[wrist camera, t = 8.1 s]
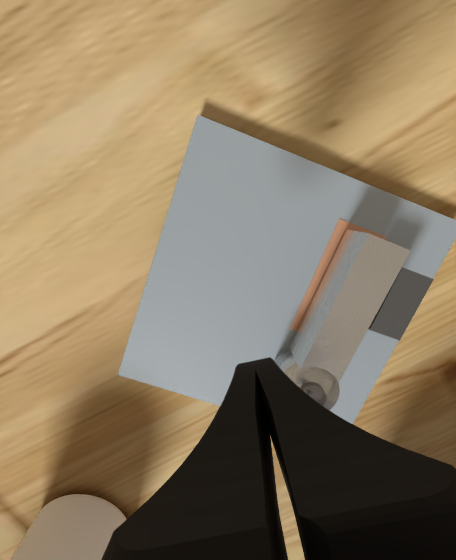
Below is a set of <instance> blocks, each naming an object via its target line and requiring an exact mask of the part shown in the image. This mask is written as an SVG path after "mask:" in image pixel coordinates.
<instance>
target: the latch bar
mask: <svg viewBox="0 0 456 560" xmlns="http://www.w3.org/2000/svg"><path fill="white" fill-rule="evenodd" d="M410 252H411V251H410V250H408V249H406V248H403V247H401V246H398V245H396V244H394V243H391V242H389V241H386V240H384V239H382V238H379V237H377V236H374V235H372V234H370V233H365V232H359V231H353V230H346V232H345V234H344V236H343V238H342V240H341V242H340V244H339V246H338V248H337V251H336V253H335V255H334V257H333V259H332V261H331V263H330V265H329V267H328V269H327V271H326V273H325V275H324V277H323V279H322V281H321V284H320V286H319V288H318V290H317V292H316V294H315V296H314V298H313V300H312V302H311V304H310V306H309V308H308V310H307V312H306V315H305V317H304V319H303V321H302V323H301V325H300V327H299V329H298V331H297V333H296V335H295V337H294V339H293V341H292V343H291V345H290V348H288V349H286V350H284V351H283V352H282V353H281V354H280V355H279V356H278V357H277V359H276V361H275V363H276V364H277V365H278V366H279V368H280V369H281V370H282V371H283V372H284V373H285V374H286V375H287V376H288V377H289V378H290V379H291V380H292V381H293V382H294V383H295V384H296V385H297V386H299V387H300V388H301V389H302V390H303V391H304V392H305V393H307V394H308V395H309V396H310V397H312V398H313V399H314V400H316V401H317V402H318V403H320V404H321V405H322V406H324V407H325V408H327V409H328V410H331V409H332V408H333V406H334V405H335V404H336V402H337V400H338V397H339V393H340V388H339V384H338V383H339V381H340V379H341V378H342V376H343V374H344V372H345V370H346V368H347V367H348V365H349V363H350V361H351V359H352V357H353V356H354V354H355V352H356V350H357V348H358V347H359V345H360V343H361V341H362V339H363V337H364V336H365V334H366V332H367V330H368V328H369V326H370V325H371V323H372V321H373V319H374V317H375V315H376V314H377V312H378V310H379V308H380V306H381V305H382V303H383V301H384V299H385V297H386V295H387V294H388V292H389V290H390V288H391V286H392V284H393V283H394V281H395V279H396V277H397V275H398V273H399V272H400V270H401V268H402V266H403V264H404V262H405V261H406V259H407V257H408V255H409V253H410Z"/></svg>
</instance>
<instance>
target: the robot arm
mask: <svg viewBox="0 0 456 560" xmlns="http://www.w3.org/2000/svg"><path fill="white" fill-rule="evenodd" d="M270 435H271V439H272V442H273V445H274V448H275V451H276V454H277V458H278V461H279V464H280V467H281V470H282V473H283V477H284V480H285V483H286V486H287V489H288V492H289V496H290V499H291V503H292V506H293V510H294V514H295V518H296V522H297V526H298V531H299V535H300V539H301V544H302V548H303V552H304V557H305V560H456V469H455V468H454V467H453V466H452V465H449V464H446V463H444V462H441V461H438V460H435V459H432V458H430V457H427V456H424V455H421V454H418V453H415V452H413V451H410V450H407V449H405V448H402V447H400V446H397V445H395V444H393V443H390V442H388V441H386V440H383V439H381V438H379V437H377V436H375V435H372V434H370V433H368V432H366V431H364V430H362V429H361V428H359V427H357V426H355V425H353V424H351V423H349V422H347V421H345V420H344V419H342V418H341V417H339V416H337V415H336V414H334V413H333V412H331V411H330V410H328V409H327V408H325V407H324V406H322V405H321V404H320V403H318V402H317V401H316V400H314V399H313V398H312V397H310V396H309V395H308V394H307V393H305V392H304V391H303V390H302V389H301V388H300V387H299V386H297V385H296V384H295V383H294V382H293V381H292V380H291V379H290V378H289V377H288V376H287V375H286V374H285V373H284V372H283V371H282V370H281V369H280V368H279V366H278V365H277V364H276V363H275V361H274V360H273V359H272V358H270V357H269V358H264V359H259V360H255V361H250V362H245V363H240V364H238V365H237V366H236V367H235V371H234V375H233V378H232V380H231V383H230V386H229V388H228V390H227V393H226V395H225V397H224V400H223V402H222V404H221V406H220V408H219V410H218V411H217V413H216V415H215V417H214V419H213V421H212V422H211V424H210V426H209V427H208V429H207V431H206V432H205V434H204V435H203V437H202V438H201V440H200V441H199V443H198V444H197V445H196V447H195V448H194V449H193V451H192V452H191V453H190V455H189V456H188V457H187V458H186V460H185V461H184V462H183V464H182V465H181V466H180V467H179V468H178V469H177V470H176V472H175V473H174V474H173V475H172V476H171V477H170V478H169V479H168V480H167V481H166V482H165V484H164V485H163V486H162V487H161V488H160V489H159V490H158V491H157V492H156V493H155V494H154V495H153V496H152V497H151V498H150V499H149V500H148V501H147V502H145V503H144V504H143V505H142V506H141V507H140V508H139V509H138V510H137V511H136V512H134V513H133V514H132V515H131V516H130V517H129V518H128V519H127V520H126V521H125V522H123V523H122V524H121V525H120V526H119V527H118V528H116V529H115V530H114V531H113V534H112V536H111V539H110V541H109V543H108V545H107V548H106V550H105V552H104V554H103V557H102V559H101V560H288V557H287V552H286V547H285V542H284V536H283V531H282V526H281V521H280V515H279V508H278V501H277V493H276V484H275V475H274V466H273V457H272V448H271V439H270Z"/></svg>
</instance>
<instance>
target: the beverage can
mask: <svg viewBox="0 0 456 560" xmlns="http://www.w3.org/2000/svg"><path fill="white" fill-rule="evenodd" d="M126 520H127V519H126V518H125V516H124V514H123V513H122V512H121V511H120V510H119V509H118V508H117V507H116V506H115V505H113V504H112V503H110V502H108V501H106V500H104V499H102V498H99V497H96V496H92V495H86V494H72V495H66V496H62V497H59V498H57V499H54V500H53V501H51V502H49V503H48V504H46V505H45V506H44V507H43V508H42V509H41V510H40V512H39V513H38V515H37V516H36V518H35V520H34V521H33V523H32V525H31V526H30V528H29V530H28V531H27V533H26V535H25V536H24V538H23V540H22V541H21V543H20V545H19V546H18V548H17V549H16V551H15V553H14V554H13V556H12V558H11V559H10V560H101V559H102V557H103V554H104V552H105V550H106V548H107V545H108V543H109V541H110V539H111V536H112V534H113V531H114V530H115V529H116V528H118V527H119V526H120V525H121V524H122V523H123V522H125V521H126Z"/></svg>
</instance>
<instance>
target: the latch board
mask: <svg viewBox="0 0 456 560" xmlns="http://www.w3.org/2000/svg"><path fill="white" fill-rule="evenodd" d="M346 230H353V231H359V232H365V233H370V234H372V235H374V236H377V237H379V238H382V239H384V240H386V241H389V242H391V243H394V244H396V245H398V246H401V247H403V248H406V249H408V250H410V251H411V252H410V253H409V255H408V257H407V259H406V261H405V262H404V264H403V266H402V268H401V270H400V272H399V273H398V275H397V277H396V279H395V281H394V283H393V284H392V286H391V288H390V290H389V292H388V294H387V295H386V297H385V299H384V301H383V303H382V305H381V306H380V308H379V310H378V312H377V314H376V315H375V317H374V319H373V321H372V323H371V325H370V326H369V328H368V330H367V332H366V334H365V336H364V337H363V339H362V341H361V343H360V345H359V347H358V348H357V350H356V352H355V354H354V356H353V357H352V359H351V361H350V363H349V365H348V367H347V368H346V370H345V372H344V374H343V376H342V378H341V379H340V381H339V383H338V384H339V388H340V393H339V397H338V400H337V402H336V404H335V405H334V406H333V408H332V409H331V410H330V411H331V412H333V413H334V414H336V415H337V416H339V417H341V418H342V419H344V420H345V421H347V422H349V423H351V424H353V422H354V420H355V419H356V417H357V415H358V413H359V411H360V410H361V408H362V406H363V404H364V402H365V401H366V399H367V397H368V395H369V393H370V392H371V390H372V388H373V386H374V384H375V383H376V381H377V379H378V377H379V375H380V374H381V372H382V370H383V368H384V366H385V365H386V363H387V361H388V359H389V357H390V356H391V354H392V352H393V350H394V348H395V347H396V345H397V343H398V341H400V339H401V337H402V335H403V334H404V332H405V330H406V328H407V326H408V325H409V323H410V321H411V319H412V317H413V316H414V314H415V312H416V310H417V308H418V307H419V305H420V303H421V301H422V299H423V298H424V296H425V294H426V292H427V290H428V289H429V287H430V285H431V283H432V281H433V280H434V279H433V278H434V276H435V274H436V273H437V271H438V269H439V267H440V265H441V264H442V262H443V260H444V258H445V256H446V255H447V253H448V251H449V249H450V247H451V246H452V244H453V242H454V240H455V238H456V220H454V219H452V218H449V217H447V216H444V215H442V214H440V213H437V212H435V211H432V210H430V209H427V208H425V207H422V206H420V205H418V204H415V203H413V202H410V201H408V200H405V199H403V198H400V197H398V196H396V195H393V194H391V193H388V192H386V191H383V190H381V189H378V188H376V187H374V186H371V185H369V184H366V183H364V182H361V181H359V180H356V179H354V178H352V177H349V176H347V175H344V174H342V173H339V172H337V171H334V170H332V169H330V168H327V167H325V166H322V165H320V164H317V163H315V162H312V161H310V160H308V159H305V158H303V157H300V156H298V155H295V154H293V153H290V152H288V151H286V150H283V149H281V148H278V147H276V146H273V145H271V144H268V143H266V142H264V141H261V140H259V139H256V138H254V137H251V136H249V135H246V134H244V133H242V132H239V131H237V130H234V129H232V128H229V127H227V126H224V125H222V124H220V123H217V122H215V121H212V120H210V119H207V118H205V117H202V116H200V115H198V116H197V119H196V122H195V125H194V129H193V132H192V135H191V138H190V142H189V145H188V148H187V151H186V155H185V158H184V161H183V164H182V168H181V171H180V174H179V178H178V181H177V184H176V187H175V191H174V194H173V197H172V200H171V204H170V207H169V210H168V213H167V217H166V220H165V223H164V226H163V230H162V233H161V236H160V239H159V243H158V246H157V249H156V252H155V256H154V259H153V262H152V265H151V269H150V272H149V275H148V278H147V282H146V285H145V288H144V291H143V295H142V298H141V301H140V304H139V308H138V311H137V314H136V317H135V321H134V324H133V327H132V330H131V334H130V337H129V340H128V343H127V347H126V350H125V353H124V357H123V360H122V363H121V366H120V370H119V373H118V375H120V376H123V377H126V378H130V379H133V380H136V381H139V382H143V383H146V384H149V385H153V386H156V387H159V388H163V389H166V390H169V391H172V392H176V393H179V394H182V395H186V396H189V397H192V398H196V399H199V400H202V401H206V402H209V403H212V404H215V405H219V406H221V404H222V402H223V400H224V397H225V395H226V393H227V390H228V388H229V386H230V383H231V380H232V378H233V375H234V371H235V367H236V366H237V365H238V364H240V363H245V362H250V361H255V360H259V359H264V358H269V357H270V358H272V359H273V360H274V361H276V359H277V357H278V356H279V355H280V354H281V353H282V352H283V351H284V350H286V349H288V348H290V345H291V343H292V341H293V339H294V337H295V335H296V333H297V331H298V329H299V327H300V325H301V323H302V321H303V319H304V317H305V315H306V312H307V310H308V308H309V306H310V304H311V302H312V300H313V298H314V296H315V294H316V292H317V290H318V288H319V286H320V284H321V281H322V279H323V277H324V275H325V273H326V271H327V269H328V267H329V265H330V263H331V261H332V259H333V257H334V255H335V253H336V251H337V248H338V246H339V244H340V242H341V240H342V238H343V236H344V234H345V232H346Z"/></svg>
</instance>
